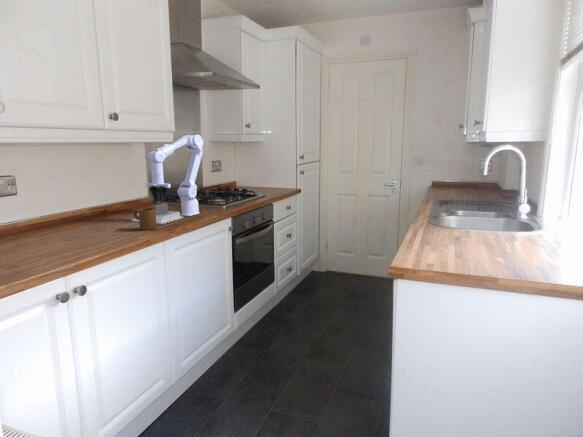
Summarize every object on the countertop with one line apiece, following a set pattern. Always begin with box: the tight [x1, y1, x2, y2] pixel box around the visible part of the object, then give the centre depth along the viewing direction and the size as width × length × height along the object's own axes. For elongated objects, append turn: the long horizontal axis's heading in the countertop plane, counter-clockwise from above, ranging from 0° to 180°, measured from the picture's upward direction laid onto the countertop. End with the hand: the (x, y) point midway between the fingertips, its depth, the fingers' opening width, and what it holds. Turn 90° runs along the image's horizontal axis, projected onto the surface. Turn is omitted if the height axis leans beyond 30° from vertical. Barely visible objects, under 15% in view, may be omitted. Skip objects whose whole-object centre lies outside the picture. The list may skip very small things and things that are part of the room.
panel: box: [152, 202, 169, 215], centre depth 214 cm, size 9×2×7 cm, turn 155°
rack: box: [131, 210, 184, 225], centre depth 215 cm, size 16×20×4 cm
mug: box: [132, 207, 158, 232], centre depth 193 cm, size 12×8×9 cm, turn 66°
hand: (159, 201), depth 213 cm, fingers open, 3 cm apart
